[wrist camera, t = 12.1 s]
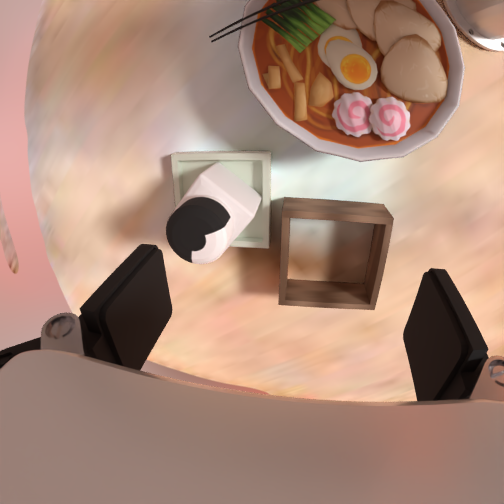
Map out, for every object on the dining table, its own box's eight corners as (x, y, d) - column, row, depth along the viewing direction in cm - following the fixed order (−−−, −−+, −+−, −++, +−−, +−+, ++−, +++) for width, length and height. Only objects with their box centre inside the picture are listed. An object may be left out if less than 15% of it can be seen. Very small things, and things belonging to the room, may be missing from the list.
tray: (271, 151, 35) (269, 153, 34) (270, 242, 41) (268, 248, 39) (176, 152, 37) (170, 154, 35) (184, 237, 42) (179, 243, 41)
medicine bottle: (186, 202, 39) (145, 241, 29) (217, 160, 36) (182, 185, 26) (229, 235, 41) (203, 285, 30) (263, 196, 37) (247, 236, 27)
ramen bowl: (289, 180, 37) (286, 200, 29) (210, 19, 28) (187, 0, 21) (466, 121, 29) (500, 129, 22) (394, -38, 21) (413, -63, 13)
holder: (383, 204, 36) (393, 218, 31) (368, 288, 42) (374, 309, 37) (284, 197, 38) (282, 210, 33) (281, 283, 43) (278, 304, 39)
